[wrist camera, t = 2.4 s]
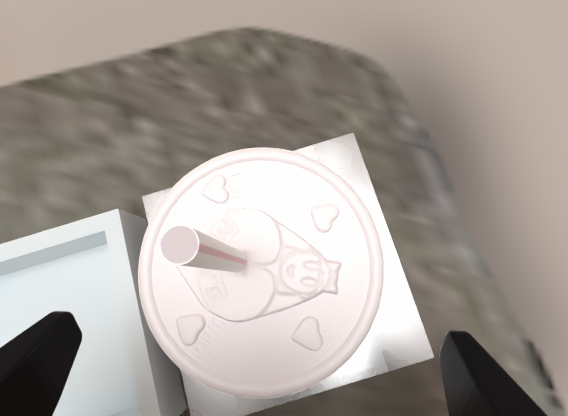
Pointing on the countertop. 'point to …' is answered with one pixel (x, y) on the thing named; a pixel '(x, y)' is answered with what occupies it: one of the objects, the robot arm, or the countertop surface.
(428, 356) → the bore block
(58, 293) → the tray
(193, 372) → the smoothie
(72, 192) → the countertop surface
